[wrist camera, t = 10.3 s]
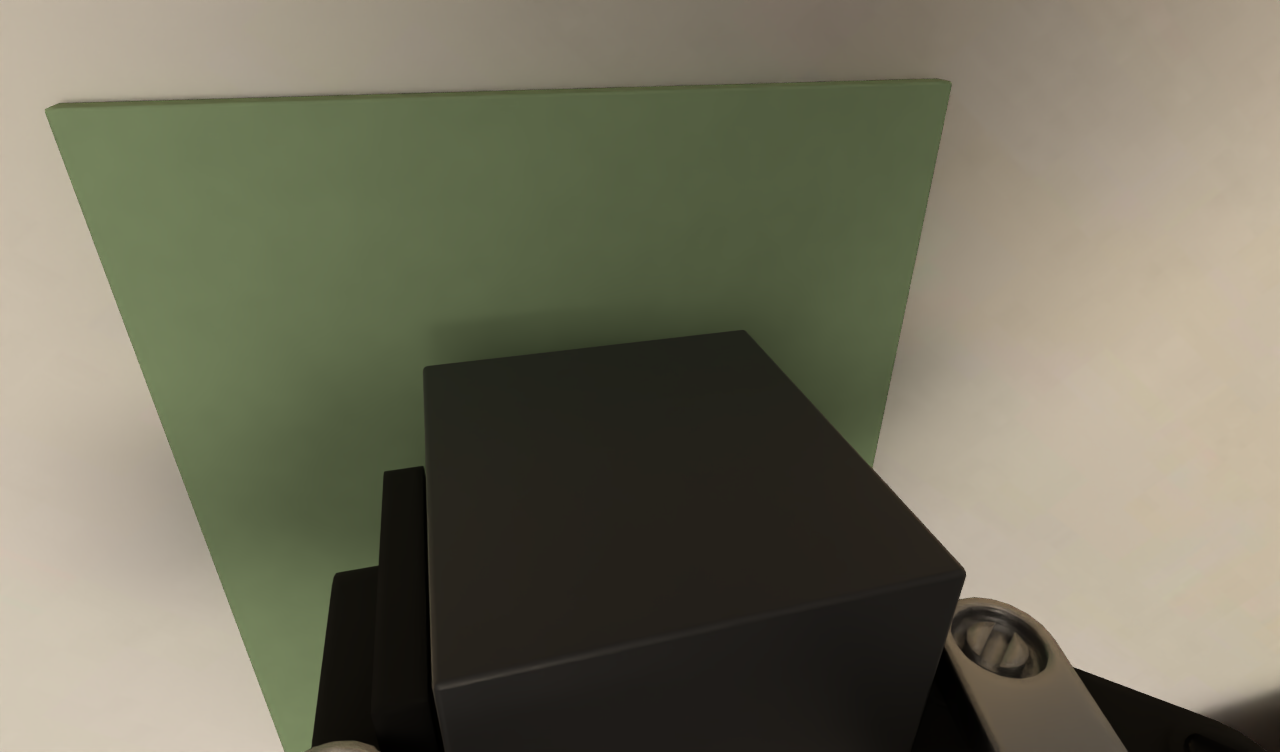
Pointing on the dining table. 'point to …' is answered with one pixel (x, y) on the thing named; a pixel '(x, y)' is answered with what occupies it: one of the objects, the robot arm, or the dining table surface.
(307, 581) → the mat
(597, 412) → the charcoal grey block
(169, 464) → the dining table surface
